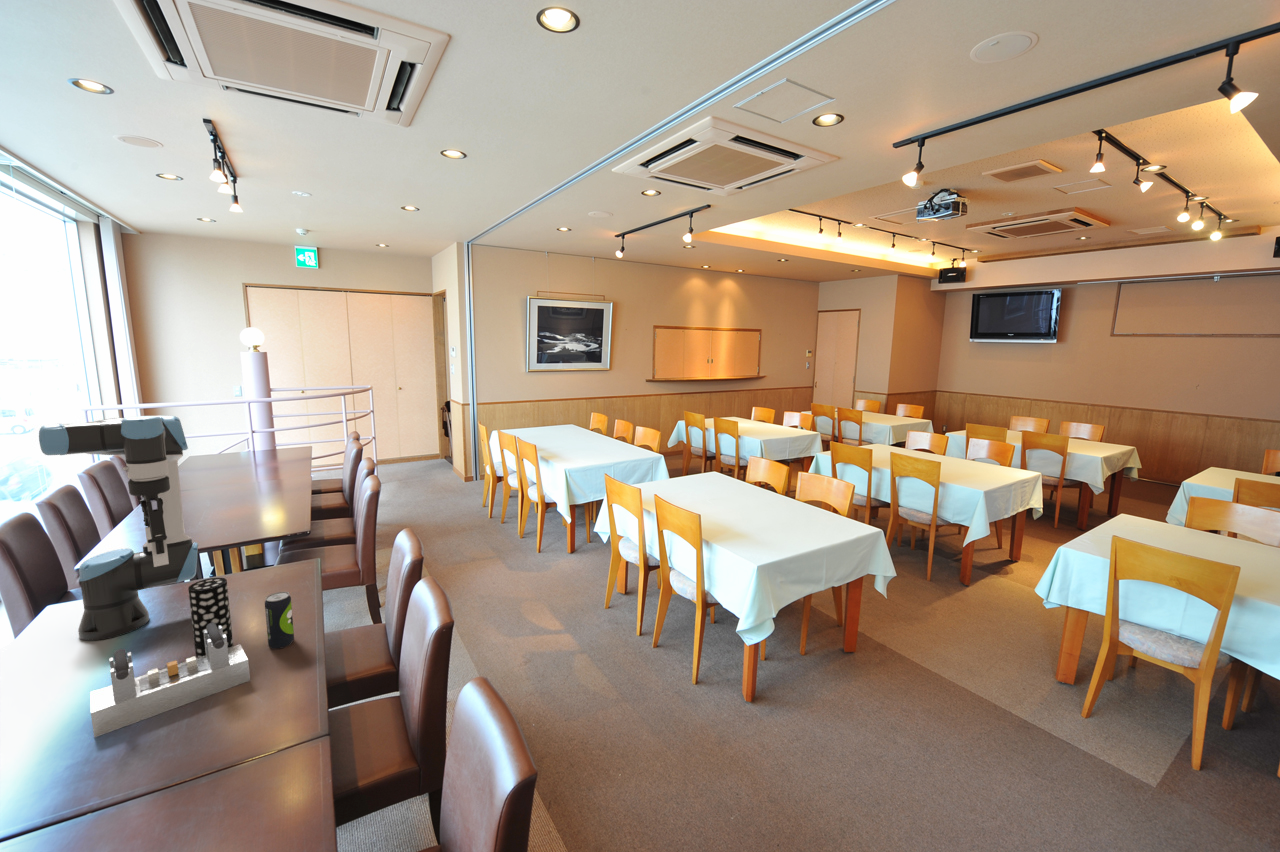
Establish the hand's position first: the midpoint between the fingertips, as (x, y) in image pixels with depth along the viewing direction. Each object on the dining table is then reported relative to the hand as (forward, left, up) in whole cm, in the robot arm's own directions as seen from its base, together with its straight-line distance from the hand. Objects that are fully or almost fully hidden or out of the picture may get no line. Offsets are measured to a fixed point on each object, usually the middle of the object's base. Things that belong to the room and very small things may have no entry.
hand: (158, 557), depth 133 cm
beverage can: (+6, +24, -32) cm, 40 cm away
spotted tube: (-4, +10, -32) cm, 34 cm away
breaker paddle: (+15, 0, -26) cm, 30 cm away
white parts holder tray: (+15, 0, -32) cm, 35 cm away
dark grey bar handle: (+15, -9, -20) cm, 26 cm away
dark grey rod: (+15, +8, -20) cm, 26 cm away
